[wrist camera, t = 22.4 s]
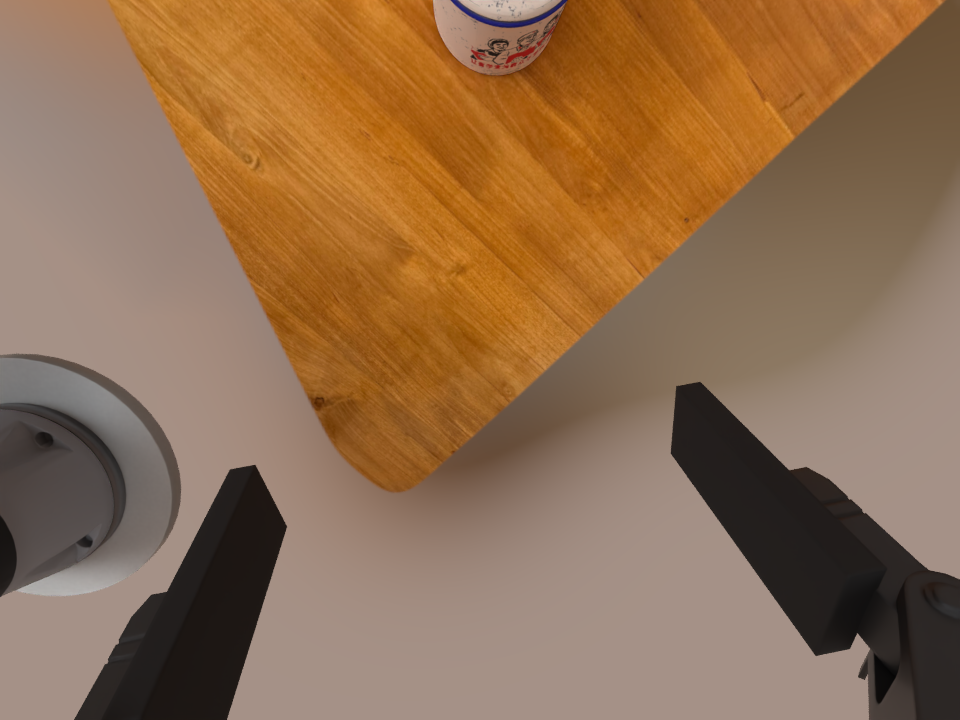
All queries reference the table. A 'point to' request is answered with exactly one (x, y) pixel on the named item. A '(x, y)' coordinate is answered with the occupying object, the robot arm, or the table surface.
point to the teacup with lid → (497, 31)
